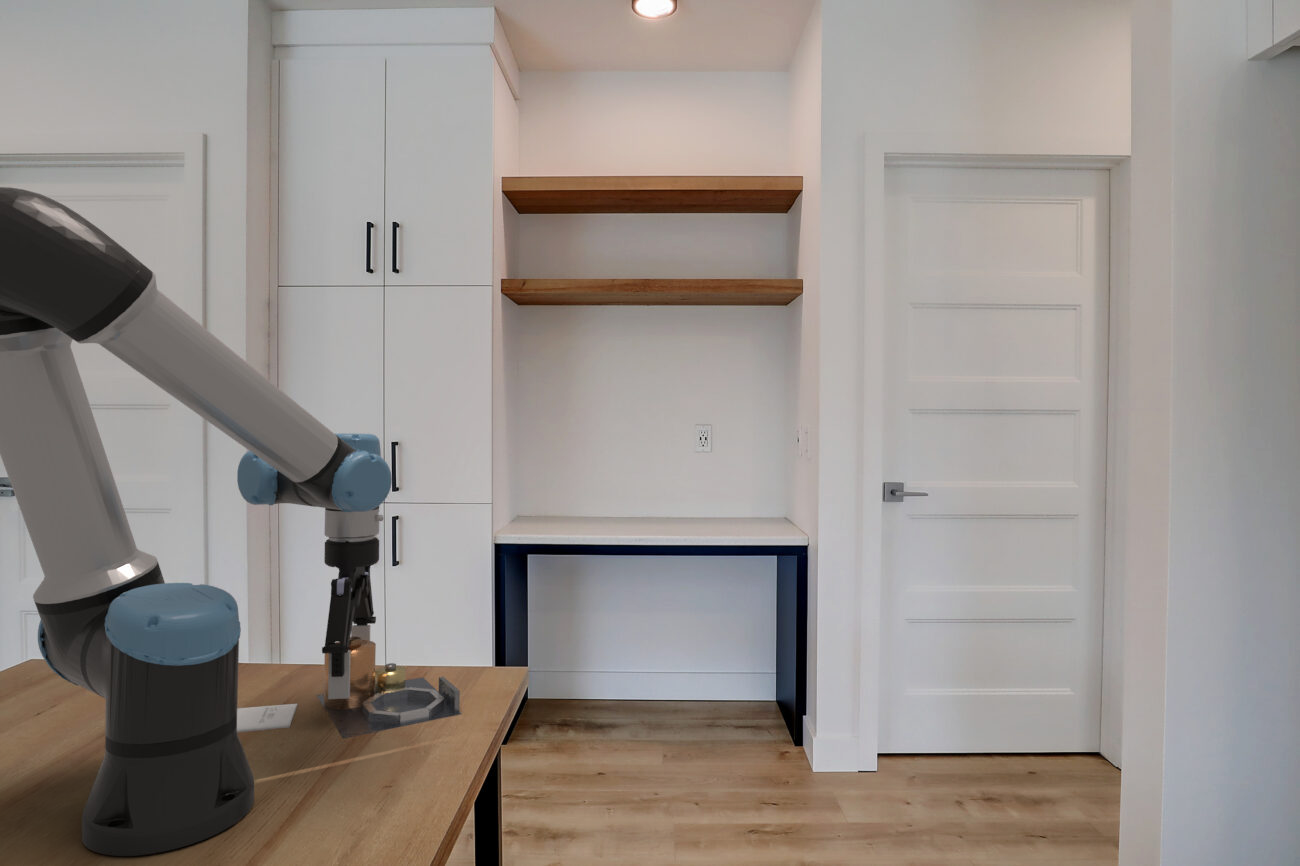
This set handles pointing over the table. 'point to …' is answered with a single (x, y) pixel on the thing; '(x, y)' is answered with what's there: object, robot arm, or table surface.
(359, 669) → the copper knobbed cylinder
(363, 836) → the table surface
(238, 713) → the external hard drive
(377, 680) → the plate
